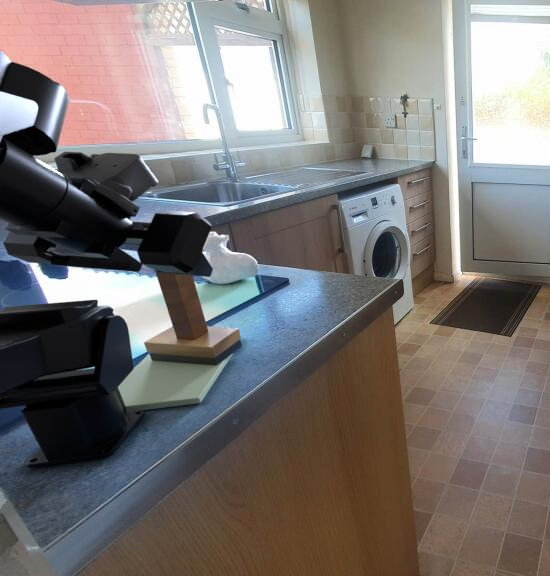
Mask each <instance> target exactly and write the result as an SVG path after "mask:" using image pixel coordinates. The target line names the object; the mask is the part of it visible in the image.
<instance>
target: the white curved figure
mask: <svg viewBox="0 0 550 576" xmlns="http://www.w3.org/2000/svg"><path fill="white" fill-rule="evenodd" d="M228 241H230V235H228V234H220V235H219V234H218V233H217V232H216V231H210V233H209V235H208V237H207V240H206V242H205V245H204V247H203V249H202V252H203V254H204V256H205V257H206V259H207V260H208V262H209V263H210V265H211V267H212V268H213V271H212V274H211V276H210V277H204V276H201V278H202V279H205V281H209V282H211V283H212V284H219V285H225V284H226V285H227V284H231V283H235V282H238V281H241V280H245V279H251V278H255V277H256V276H257V275H258V274H259V269H260V268H259V264H258V261H257V260H256V259H255V258H254V257H253V256H252V255H250V254H247V253H244V252H233V251H231V250H229V248H228V247H227V243H228Z"/></svg>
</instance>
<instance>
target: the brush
mask: <svg viewBox="0 0 550 576" xmlns="http://www.w3.org/2000/svg"><path fill="white" fill-rule="evenodd" d="M154 271H155V275H156V277H157V281H158V284H159V288H160V291H161V294H162V297H163V300H164V303H165V306H166V309H167V312H168V316H169V319H170V322H171V325H172V326H171V327H168V328H167V329H165V330H163V331H162V332H160V333H158V334H156V335H154V336H153V337H151V338H149V339H147V340H146V341H144V342H143V345H144V347H145V350H146V353H147V354H150V357H151V360H152V361H164V362H177V363H190V364H203V365H218V364H219V363H221V362H222V361H223V360H225V359H226V358H227V357H229V356H230V355H231V354H235V352H237V351H238V350H239V349H241V348H242V347H243V345H242V341H241V339H242V336H241V332H240V329H239V328H235V327H234V328H233V327H222V326H221V327H220V326H208V325H207V321H206V318H205V314H204V311H203V308H202V303H201V301H200V297H199V294H198V289H197V286H196V283H195V279H194V276H192V275H180V274H168V273H158V270H155V269H154Z"/></svg>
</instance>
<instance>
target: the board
mask: <svg viewBox="0 0 550 576" xmlns="http://www.w3.org/2000/svg"><path fill="white" fill-rule="evenodd" d="M233 354H234V353H233ZM233 354H231V355H230V356H229V357H227V358H226V359H225V360H223V361H222V362H221V363H219V364H218V365H203V364H190V363H177V362H164V361H152V360H151V357H150V354H149V353H147V355H146V356H145V357H144V358H143V359H142V360H141V361H140V362H139V363H138V364H136V366H135V367H134V368H133V370H132V371H131V373H130V374H129V375H128V376H127V377H126V378H125V379H124V381H123V382H122V383H121V384H120V385H119V386H118V389H119V391H120V394H121V396H122V399H123V401H124V404H125V406H126V412H129V411H137V410H144V411H148V410H155V409H163V408H173V407H180V406H188V405H197V404H198V405H199V404H201V403H202V402H203V400H204V399H205V397H206V396H207V395H208V393H209V391H210V389H211V388H212V386H213V385H214V384H215V382H216V381H217V379H218V377H219V376H220V374H221V373H222V371H223V370H224V368H225V367H226V365H227V364H228V362H229V361H230V360H231V358H232V356H233Z"/></svg>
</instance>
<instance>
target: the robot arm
mask: <svg viewBox="0 0 550 576" xmlns="http://www.w3.org/2000/svg"><path fill="white" fill-rule="evenodd" d="M69 103H70V97H69V94H68V92H67V91H66V89H65V88H64V87H63V86H62V84H61V83H59V82H57V81H55V80H53V79H51V78H50V77H49V76H47V75H45V74H44V73H43V72H40V71H38V70H36V69H34V68H31V67H29V66H27V65H24V64H21V63H18V62H14V61H12V60H11V59H10V58H9V57H8V55H6V54H5V53H4V51H3V50H0V220H1V221H2V222H5V223H7V224H6V225H5V227H4V229H3V230H6V231H8V233H7V234H6V236H5V238H4V239H3V241H2V245H3V246H4V248H5V250H6V253H7V255H8V256H11V257H14V258H15V259H19V260H21V261H24V262H27V263H31V264H44V265H46V266H55V267H69V268H80V269H81V268H83V269H95V270H108V271H122V272H133V273H139V272H140V271H141V270H142V267H143V266H144V267H147V268H149V269H151V270H154V271H155V270H158V273H168V274H180V275H192V276H193V277H202V276H204V277H210V276H211V274H212V271H213V268H212V267H211V265H210V263H209V262H208V260H207V259H206V257H205V256H204V254H203V252H204V251H203V247H204V245H205V242H206V240H207V237H208V235H209V233H210V232H211V230H212V227H213V226H212V224H211V223H210V221H209V220H208V219H206V218H204V216H202V215H201V214H199V213H198V212H193V211H179V210H178V211H177V210H163V211H160V212H155V213H154V215H153V217H152V219H151V221H150V222H148V221H147V222H146V221H132V220H131V218H135V217H136V216H137V215H138V213H139V211H140V209H141V206H140V205H138V204H137V203H135V202H134V201H136V200H138V198H140V197H141V196H142V195H143V194H145V193H146V192H147V191H148V190H149V189H151V188H155V187H156V186H157V185H158V183H159V180H158V178H157V177H156V176H155V175H154V173H153V172H152V170H151V169H150V167H149V166H148V165H147V164H146V163H145V160H143V158H142V157H141V155H140V154H136V153H120V152H104V153H101V154H100V153H93V154H90V155H87V154H85V153H83V152H79V151H63V152H62V153H60V154H59V155H57V156H55V157H53V158H54V162H55V166H56V168H57V169H56V168H53V167H51V166H50V165H48V164H47V163H45V162H43V161H42V160H40V159H38V158H36V157H39V156H46V155H49V154H52V153H56V152H57V150H58V146H59V141H60V138H61V134H62V131H63V125H64V123H65V118H66V115H67V111H68V107H69ZM123 245H128V246H129V245H132V246H138V248H137V250H136V253H137V256H138V258H139V260H138V259H136V258H135V257H133V256H132V255H131V254H129V252H126V251H125V250H123V249H121V247H122V246H123ZM98 304H99V300H98V299H87V300H73V301H72V300H71V301H63V302H49V303H36V304H24V305H13V306H12V305H11V306H5V307H4V308H3V309H1V310H0V411H1V410H5V409H11V408H18V407H19V408H20V407H24V408H23V409H22V410H21V411H20V413H21V415H22V416H23V418H24V420H25V422H26V424H27V425H28V427H29V429H30V431H31V433H32V436H33V437H34V439H35V441H36V442H37V443H36V444H38V446H39V450H37V451H36V452H35V453H34V454H33V455H32V456H31V457H30V458H29V459H28V460H27V461H26V462H25V465H26V466H27V468H28V469H34V468H35V469H36V468H41V467H49V466H56V465H63V464H71V463H76V462H83V461H90V460H91V461H92V460H98V459H105V458H108V457H110V456H112V455H114V453H115V452H116V451H117V450H118V449H119V448H120V446H122V444H123V443H124V441H125V440H126V439H127V438H128V436H129V435H130V434H131V433H132V432H133V431H134V429H135V428H136V427H137V425H138V424H139V423H141V421H142V420H143V419H144V417H145V415H146V413H145V410H137V411H129V412H126V406H125V404H124V401H123V399H122V396H121V394H120V391H119V389H118V386H119V385H120V384H121V383H122V382H123V381H124V379H125V378H126V377H127V376H128V375H129V374H130V373H131V371H132V370H133V369H134V368H135V367H134V361H133V353H132V347H131V338H130V330H129V327H128V324H127V322H126V319H124V317H122V316H121V315H115V313H114V308H113V307H111V306H110V305H98Z"/></svg>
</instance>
